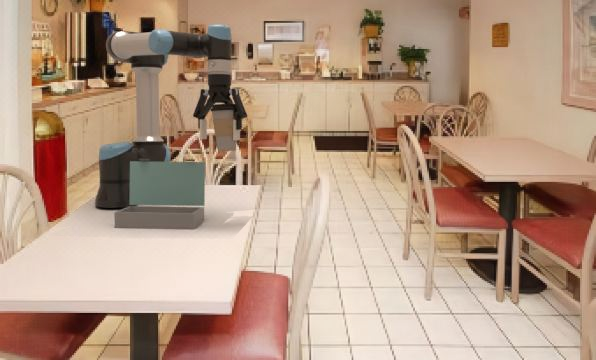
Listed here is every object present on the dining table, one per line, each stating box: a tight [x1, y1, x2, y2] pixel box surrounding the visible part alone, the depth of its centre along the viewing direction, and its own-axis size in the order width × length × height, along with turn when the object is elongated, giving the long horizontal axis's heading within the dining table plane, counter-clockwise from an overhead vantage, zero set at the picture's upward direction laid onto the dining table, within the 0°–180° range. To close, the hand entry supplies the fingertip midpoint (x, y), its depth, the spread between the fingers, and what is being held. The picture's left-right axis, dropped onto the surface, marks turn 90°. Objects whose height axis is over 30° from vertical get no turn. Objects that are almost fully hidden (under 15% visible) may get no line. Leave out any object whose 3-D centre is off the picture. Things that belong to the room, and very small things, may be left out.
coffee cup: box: [210, 103, 238, 152], centre depth 201 cm, size 9×9×15 cm
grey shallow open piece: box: [114, 205, 205, 230], centre depth 207 cm, size 15×26×5 cm, turn 86°
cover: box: [130, 158, 206, 207], centre depth 213 cm, size 16×26×2 cm
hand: (219, 139), depth 203 cm, fingers open, 13 cm apart
